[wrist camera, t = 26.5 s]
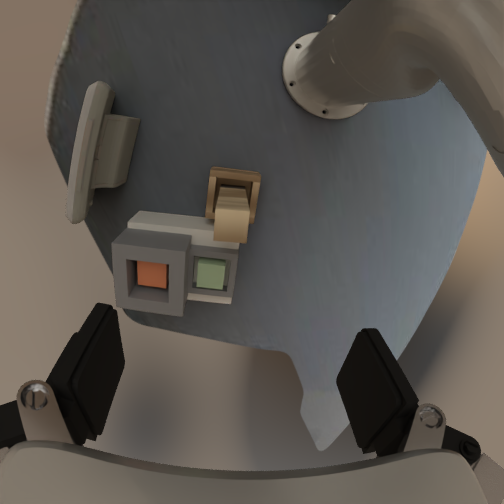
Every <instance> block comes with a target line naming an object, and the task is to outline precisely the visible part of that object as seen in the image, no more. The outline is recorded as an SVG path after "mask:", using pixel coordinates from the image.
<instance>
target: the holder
mask: <svg viewBox="0 0 504 504" xmlns="http://www.w3.org/2000/svg"><path fill="white" fill-rule="evenodd" d="M260 181H261V175H260V173H259V172H254V171H247V170H239V169H231V168H223V167H214V166H212V168H211V170H210V178H209V186H208V195H207V204H206V213H205V218H208V219H215V209H216V205H217V200H218V196H219V191H220V187H221V184H225V185H237V186H245V190H246V195H247V200H248V205H249V210H250V215H249V223H250V224H254V218H255V212H256V206H257V199H258V193H259V187H260Z"/></svg>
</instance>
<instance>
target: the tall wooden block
mask: <svg viewBox="0 0 504 504" xmlns="http://www.w3.org/2000/svg"><path fill="white" fill-rule="evenodd" d="M249 215H250V210H249V205H248V200H247V195H246V190H245V186H237V185H225V184H221V187H220V191H219V196H218V200H217V205H216V209H215V223H214V238H213V241H222V242H235V243H246V242H247V233H248V224H249Z"/></svg>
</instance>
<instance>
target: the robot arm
mask: <svg viewBox="0 0 504 504" xmlns="http://www.w3.org/2000/svg"><path fill="white" fill-rule="evenodd" d="M296 46H297V47H298V48H299V49H297V48H296ZM282 77H283V81H284V85H285V87H286V89H287V91H288V93H289V94H290V96H291V97H292V99H293V100H294V101H295V102H296V103H297V104H298V105H299V106H300V107H301V108H303V109H304V110H306V111H307V112H309V113H311V114H313V115H315V116H318V117H321V118H325V119H342V118H348V117H350V116H353V115H355V114H357V113H358V112H360V111H361V110H362V109H363V108H364V107H365V106H366V105H367V104H368V103H371V102H379V101H387V100H396V99H403V98H411V97H416V96H419V95H421V94H423V93H425V92H427V91H428V90H430V89H431V88H432V87H433V86H434V85H435V84H436V83H437V82H438V80H439V79H441V81H442V82H443V83H444V84H445V85H446V87H447V88H448V89H449V91H450V92H451V94H452V95H453V96H454V98H455V99H456V100H457V101H458V102H459V104H460V105H461V106H462V108H463V109H464V111H465V113H466V114H467V116H468V117H469V119H470V120H471V122H472V124H473V125H474V127H475V129H476V130H477V132H478V134H479V135H480V137H481V139H482V141H483V143H484V144H485V146H486V148H487V150H488V151H489V153H490V155H491V157H492V159H493V160H494V162H495V164H496V166H497V167H498V169H499V171H500V172H501V174H502V175H503V177H504V0H352V1H351V2H350V3H349V4H348V5H347V6H345V7H344V8H343V9H342V10H341V11H340V12H339V13H338V14H337V15H328V20H327V25H326V26H325V27H324V28H323V29H322V30H321V31H320V32H314V33H309V34H306V35H304V36H302V37H300V38H299V39H297V40H296V41H295V42H294V43H293V44H292V45H291V46H290V47H289V49H288V50H287V52H286V54H285V56H284V59H283V64H282ZM290 83H292V84H293V86H290ZM323 110H324V111H325V114H323V113H322V111H323ZM124 365H125V359H124V353H123V348H122V342H121V336H120V329H119V323H118V315H117V311H116V310H115V309H113V307H112V306H111V305H108V304H103V303H97V304H96V305H95V307H94V308H93V310H92V311H91V313H90V314H89V316H88V317H87V319H86V321H85V322H84V324H83V325H82V327H81V329H80V331H79V332H76V333H74V334H73V335H72V337H71V339H70V340H69V342H68V344H67V345H66V347H65V349H64V350H63V352H62V354H61V356H60V357H59V359H58V361H57V362H56V364H55V366H54V368H53V369H52V371H51V373H50V375H49V377H48V378H47V380H46V382H44V381H41V380H31V381H28V382H26V383H24V384H23V385H22V386H21V387H20V389H19V390H18V393H17V400H15V401H12V402H9V403H6V404H3V405H0V504H501V502H502V500H503V498H504V469H503V468H502V467H501V466H499V465H498V464H497V463H496V462H494V461H493V460H492V459H491V458H490V457H488V456H487V455H486V454H485V453H483V454H482V455H481V449H480V445H479V443H478V442H477V441H476V440H475V439H474V438H473V437H471V436H468V435H466V434H464V433H462V432H460V431H458V430H456V429H453V428H451V427H449V426H447V425H446V418H445V415H444V413H443V412H442V410H441V409H440V408H439V407H437V406H435V405H433V404H423V405H420V406H418V404H417V403H418V401H419V400H418V398H417V396H416V394H415V392H414V391H413V389H412V387H411V385H410V383H409V382H408V380H407V378H406V377H405V375H404V373H403V371H402V369H401V368H400V366H399V364H398V363H397V361H396V359H395V357H394V356H393V354H392V352H391V351H390V349H389V347H388V346H387V344H386V342H385V341H384V339H383V337H382V336H381V334H380V333H379V331H378V330H377V329H376V328H364V329H362V330H361V332H358V333H357V335H356V338H355V340H354V342H353V344H352V346H351V349H350V351H349V353H348V355H347V357H346V359H345V361H344V363H343V366H342V368H341V370H340V372H339V374H338V376H337V379H336V383H337V386H338V389H339V392H340V395H341V398H342V401H343V404H344V407H345V409H346V412H347V415H348V418H349V421H350V424H351V427H352V430H353V433H354V436H355V439H356V442H357V445H358V447H359V448H362V451H363V454H365V453H370V452H375V451H376V454H377V457H376V458H374V459H369V460H364V461H358V462H353V463H347V464H341V465H334V466H326V467H318V468H308V469H296V470H280V471H227V470H210V469H198V468H189V467H180V466H173V465H166V464H160V463H154V462H148V461H142V460H138V459H132V458H128V457H124V456H119V455H114V454H111V453H107V452H103V451H99V450H95V449H91V448H87V447H84V446H83V444H84V443H85V441H86V439H90V440H93V441H96V438H97V435H101V434H102V432H103V429H104V426H105V423H106V419H107V416H108V413H109V410H110V407H111V404H112V401H113V398H114V395H115V392H116V389H117V386H118V383H119V381H120V377H121V375H122V372H123V369H124Z"/></svg>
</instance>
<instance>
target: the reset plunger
mask: <svg viewBox="0 0 504 504" xmlns="http://www.w3.org/2000/svg"><path fill="white" fill-rule="evenodd" d="M137 273H138V285H144V286H152V287H159V288H167V285H168V282H169V264H161V263H153V262H145V261H137Z"/></svg>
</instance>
